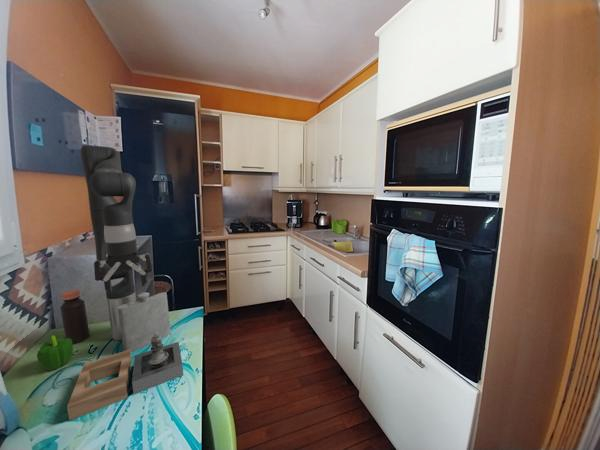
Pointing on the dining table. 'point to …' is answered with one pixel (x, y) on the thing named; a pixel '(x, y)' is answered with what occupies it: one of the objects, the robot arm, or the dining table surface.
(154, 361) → the chess piece
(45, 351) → the bell pepper
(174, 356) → the seat block
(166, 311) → the hip flask
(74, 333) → the bottle
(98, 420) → the dining table surface
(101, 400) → the wooden rectangular frame
